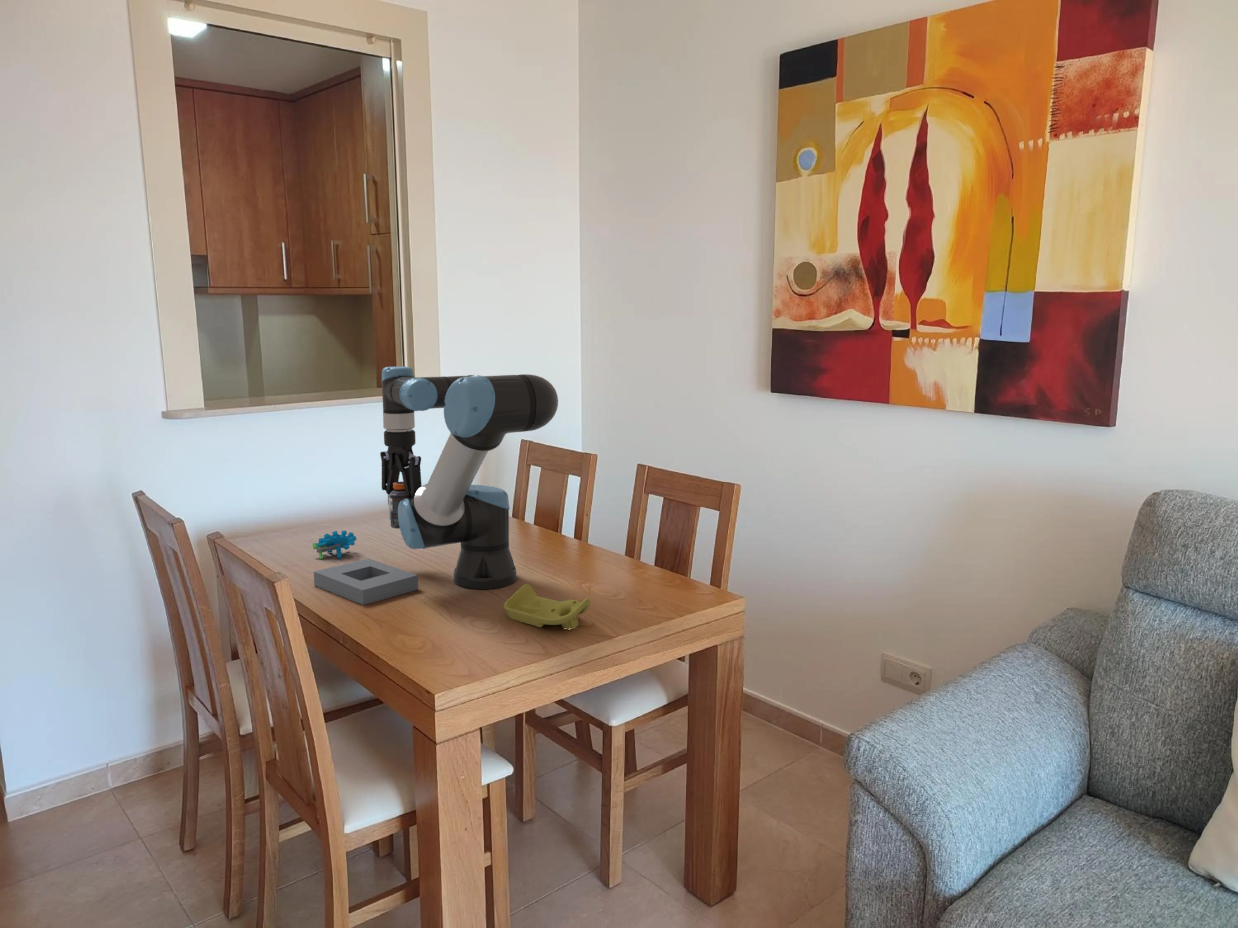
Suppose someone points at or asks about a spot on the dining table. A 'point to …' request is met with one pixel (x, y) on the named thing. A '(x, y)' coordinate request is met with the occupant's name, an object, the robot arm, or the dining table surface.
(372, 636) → the dining table surface
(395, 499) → the pill bottle
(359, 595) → the socket block
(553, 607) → the plastic component
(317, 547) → the gear
